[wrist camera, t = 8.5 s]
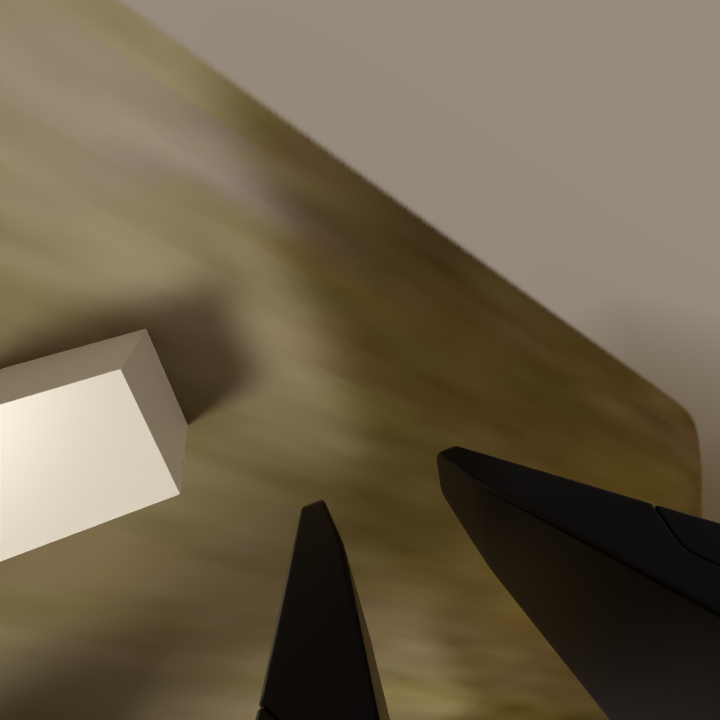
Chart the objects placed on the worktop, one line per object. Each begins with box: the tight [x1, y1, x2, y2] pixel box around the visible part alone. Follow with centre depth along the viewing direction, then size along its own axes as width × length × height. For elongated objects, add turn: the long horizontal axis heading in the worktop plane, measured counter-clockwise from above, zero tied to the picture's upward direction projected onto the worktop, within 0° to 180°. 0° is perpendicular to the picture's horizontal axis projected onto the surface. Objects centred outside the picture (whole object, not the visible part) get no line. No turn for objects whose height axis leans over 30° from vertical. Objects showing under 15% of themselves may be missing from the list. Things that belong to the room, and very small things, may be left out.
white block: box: [0, 329, 188, 561], centre depth 13 cm, size 4×7×5 cm, turn 102°
